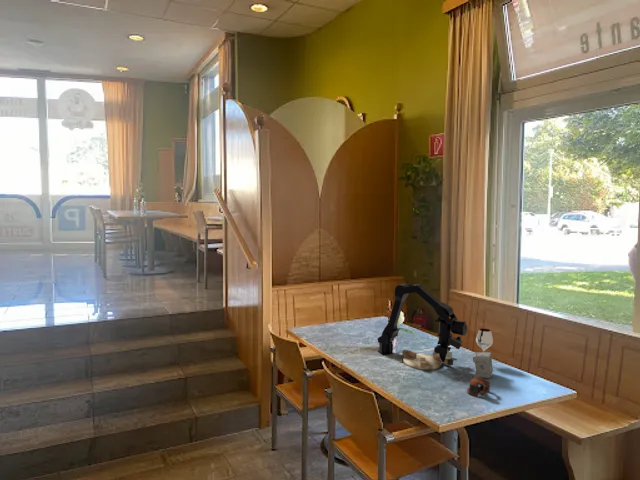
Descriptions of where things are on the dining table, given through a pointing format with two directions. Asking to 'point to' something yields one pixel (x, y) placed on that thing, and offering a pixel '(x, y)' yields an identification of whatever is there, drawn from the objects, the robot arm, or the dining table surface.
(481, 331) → the wineglass
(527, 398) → the dining table surface
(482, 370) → the incense holder
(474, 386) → the reddish brown arched figure
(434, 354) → the folding leg
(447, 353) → the stop cleat
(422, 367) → the stool seat
